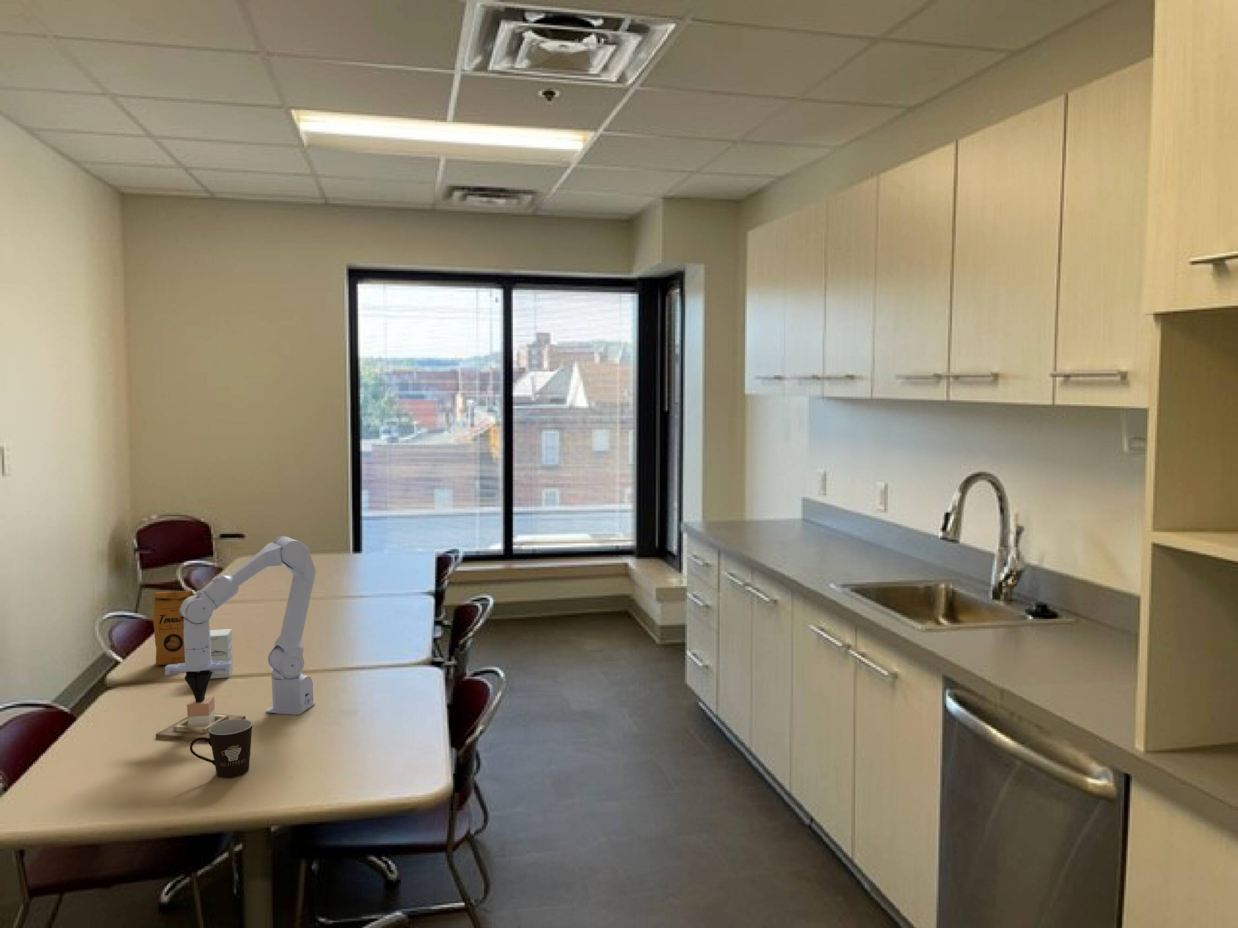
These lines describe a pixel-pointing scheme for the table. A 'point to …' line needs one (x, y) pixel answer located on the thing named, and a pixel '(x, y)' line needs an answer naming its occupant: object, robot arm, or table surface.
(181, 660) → the coffee package
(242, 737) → the coffee mug
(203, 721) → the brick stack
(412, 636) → the table surface
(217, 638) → the supplement box
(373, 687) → the table surface
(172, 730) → the walnut board
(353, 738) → the table surface
